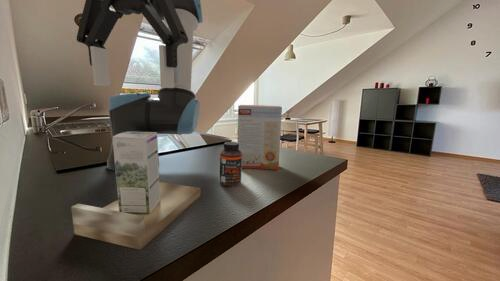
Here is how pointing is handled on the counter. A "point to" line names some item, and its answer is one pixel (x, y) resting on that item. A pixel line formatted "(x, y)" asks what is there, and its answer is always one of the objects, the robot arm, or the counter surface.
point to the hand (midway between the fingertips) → (133, 86)
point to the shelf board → (133, 218)
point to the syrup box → (137, 171)
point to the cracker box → (259, 136)
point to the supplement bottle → (230, 164)
